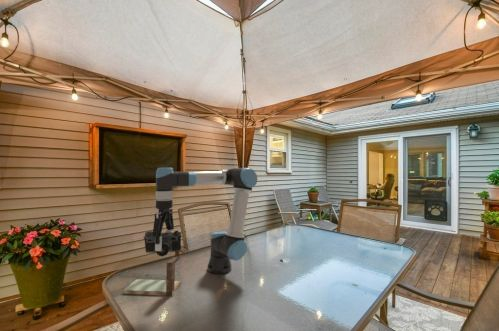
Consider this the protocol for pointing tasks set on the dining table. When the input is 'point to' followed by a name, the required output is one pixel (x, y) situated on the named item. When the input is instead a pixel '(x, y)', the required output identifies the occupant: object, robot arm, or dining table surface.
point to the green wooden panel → (157, 282)
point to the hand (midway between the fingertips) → (163, 246)
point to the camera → (163, 242)
